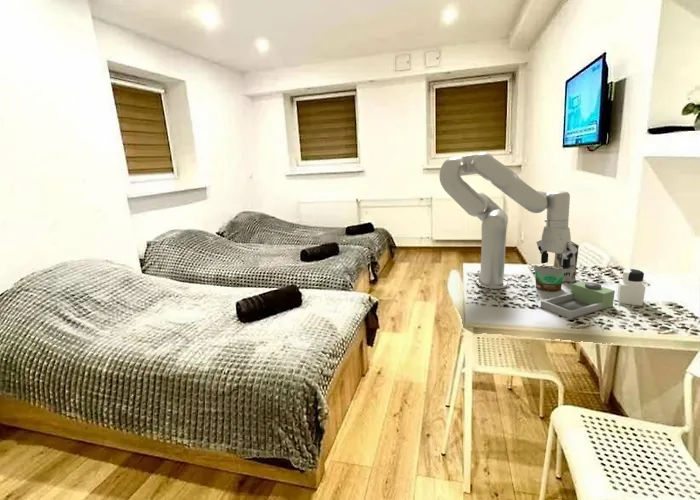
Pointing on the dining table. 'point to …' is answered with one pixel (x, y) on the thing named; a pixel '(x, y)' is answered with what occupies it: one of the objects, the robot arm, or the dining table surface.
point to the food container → (549, 278)
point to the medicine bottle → (631, 288)
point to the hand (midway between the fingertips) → (554, 265)
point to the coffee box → (570, 271)
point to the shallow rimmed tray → (580, 300)
